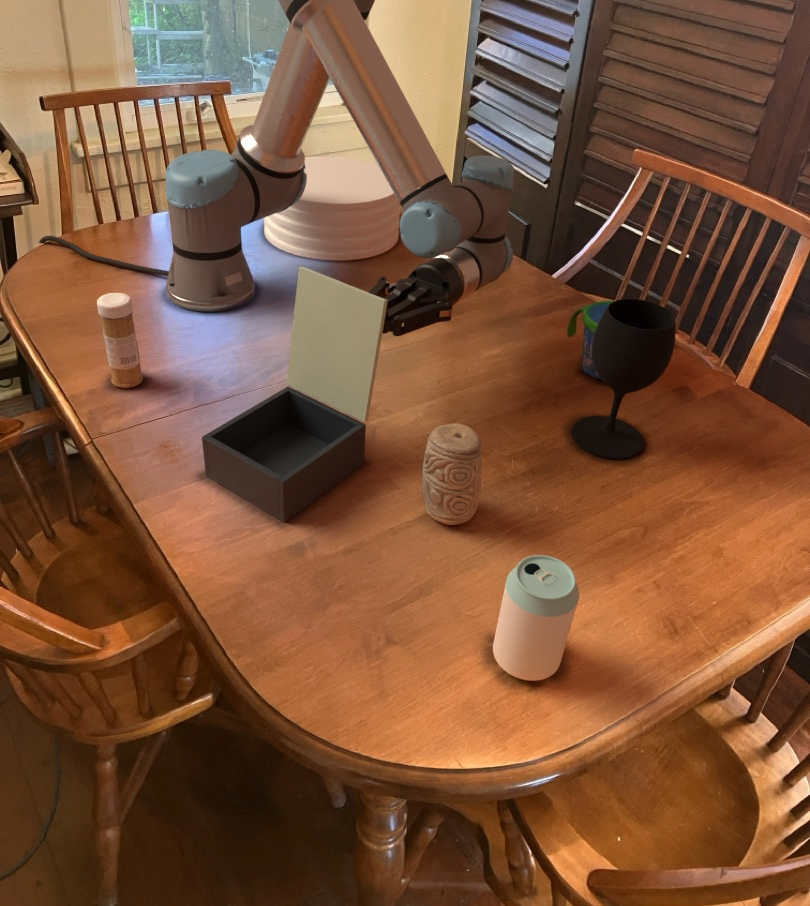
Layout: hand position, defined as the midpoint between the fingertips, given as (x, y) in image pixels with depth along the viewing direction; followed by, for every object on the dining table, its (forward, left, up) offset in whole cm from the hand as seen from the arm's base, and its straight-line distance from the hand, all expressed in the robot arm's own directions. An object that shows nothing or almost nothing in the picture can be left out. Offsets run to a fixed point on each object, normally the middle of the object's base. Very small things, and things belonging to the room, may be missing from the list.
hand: (342, 339), depth 103 cm
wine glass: (+36, +13, -15) cm, 41 cm away
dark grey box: (-4, -10, -15) cm, 18 cm away
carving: (+18, -11, -15) cm, 26 cm away
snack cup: (+34, +32, -15) cm, 49 cm away
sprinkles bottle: (-34, +1, -15) cm, 37 cm away
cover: (-1, -2, 0) cm, 2 cm away
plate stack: (-26, +67, -15) cm, 73 cm away
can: (+31, -30, -15) cm, 46 cm away
